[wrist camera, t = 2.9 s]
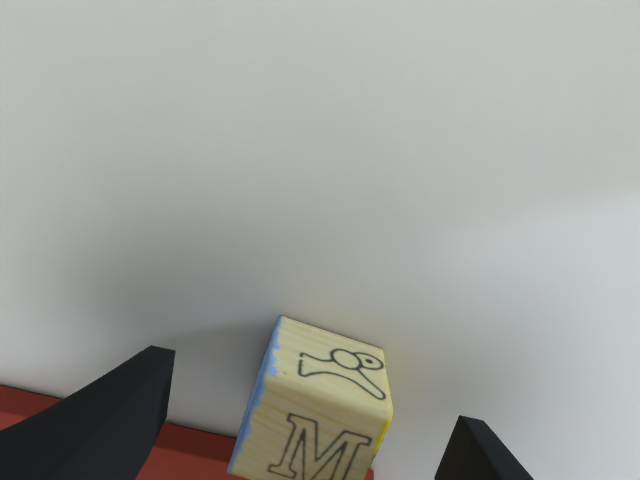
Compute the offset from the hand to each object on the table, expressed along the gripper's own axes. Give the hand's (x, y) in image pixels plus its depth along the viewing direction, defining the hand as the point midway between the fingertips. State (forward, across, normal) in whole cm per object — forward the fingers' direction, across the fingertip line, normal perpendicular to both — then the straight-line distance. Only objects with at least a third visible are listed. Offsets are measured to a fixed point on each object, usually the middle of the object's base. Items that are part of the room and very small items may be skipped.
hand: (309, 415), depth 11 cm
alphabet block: (+2, 0, 0) cm, 2 cm away
